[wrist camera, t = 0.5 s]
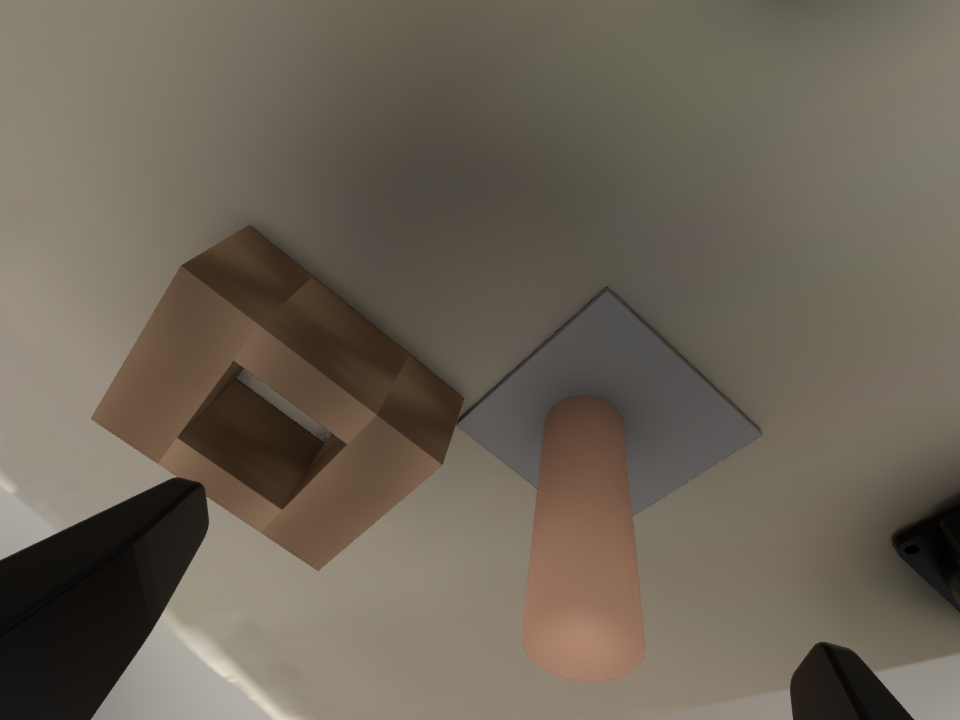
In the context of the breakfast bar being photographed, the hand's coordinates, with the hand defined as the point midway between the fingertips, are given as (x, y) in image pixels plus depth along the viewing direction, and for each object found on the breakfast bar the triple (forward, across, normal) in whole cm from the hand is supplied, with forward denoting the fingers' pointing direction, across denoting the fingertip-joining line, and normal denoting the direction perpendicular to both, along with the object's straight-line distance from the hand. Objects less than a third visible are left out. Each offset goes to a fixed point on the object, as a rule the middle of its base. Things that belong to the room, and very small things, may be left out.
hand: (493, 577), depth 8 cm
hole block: (+13, +9, +7) cm, 17 cm away
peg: (+13, -2, +6) cm, 14 cm away
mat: (+13, -3, +6) cm, 15 cm away
